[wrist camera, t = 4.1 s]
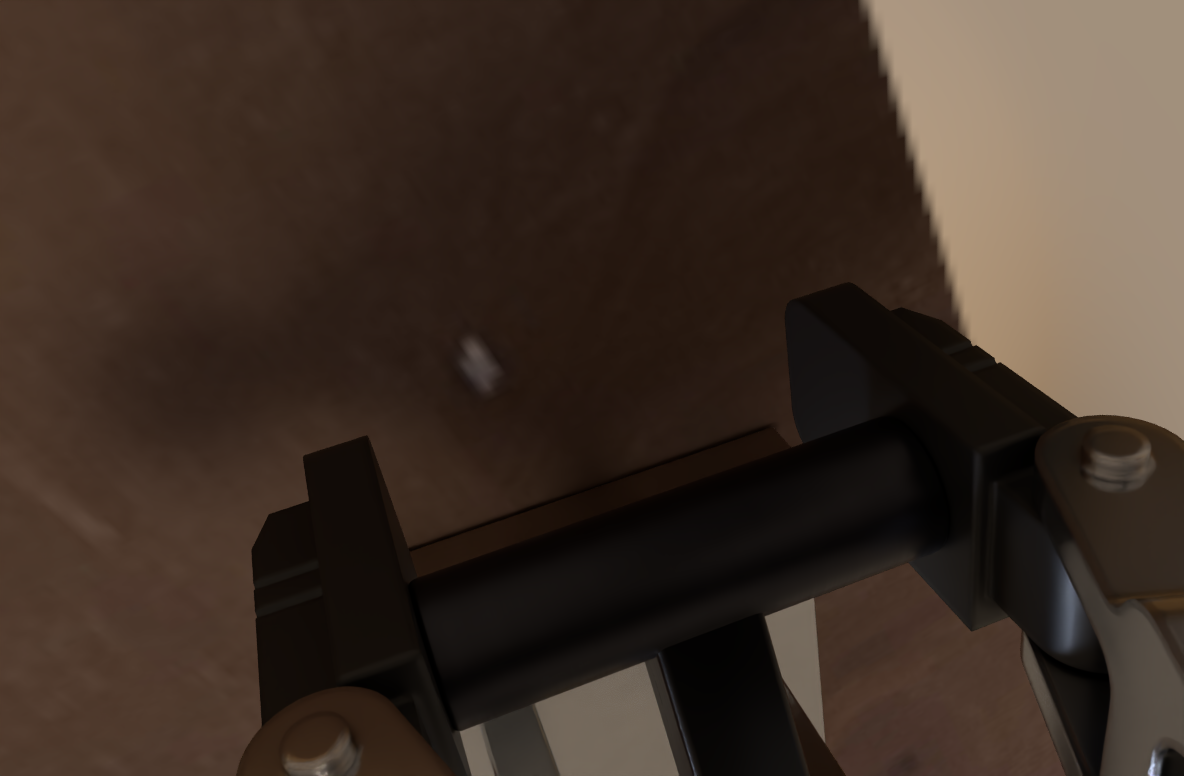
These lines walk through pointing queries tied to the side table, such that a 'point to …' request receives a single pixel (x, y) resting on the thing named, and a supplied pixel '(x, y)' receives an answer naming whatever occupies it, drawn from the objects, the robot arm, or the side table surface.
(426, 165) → the side table surface
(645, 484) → the bracket
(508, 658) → the lever
